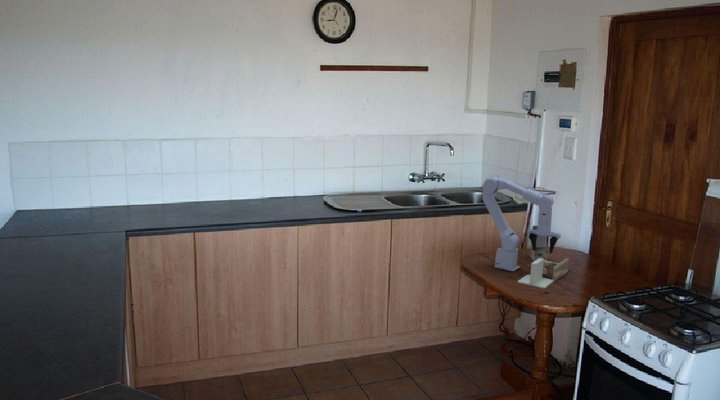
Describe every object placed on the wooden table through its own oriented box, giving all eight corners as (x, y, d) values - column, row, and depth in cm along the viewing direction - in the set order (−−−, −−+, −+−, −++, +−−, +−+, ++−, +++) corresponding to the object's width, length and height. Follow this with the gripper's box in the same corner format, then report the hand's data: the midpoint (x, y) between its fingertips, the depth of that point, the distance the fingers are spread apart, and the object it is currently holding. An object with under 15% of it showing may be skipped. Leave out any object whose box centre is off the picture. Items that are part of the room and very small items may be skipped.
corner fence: (523, 274, 274) (525, 261, 273) (538, 264, 289) (539, 252, 288) (555, 281, 266) (557, 268, 265) (568, 270, 281) (570, 258, 280)
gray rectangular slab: (529, 283, 260) (531, 263, 258) (537, 277, 268) (539, 257, 266) (534, 284, 259) (536, 264, 257) (542, 278, 267) (543, 258, 265)
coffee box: (547, 262, 293) (550, 230, 289) (533, 261, 293) (536, 229, 290) (542, 256, 302) (545, 225, 298) (529, 256, 302) (532, 225, 299)
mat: (517, 282, 262) (517, 281, 262) (527, 275, 272) (527, 274, 272) (544, 288, 256) (544, 287, 256) (553, 281, 265) (553, 280, 265)
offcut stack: (536, 274, 275) (536, 269, 275) (531, 269, 283) (531, 264, 283) (546, 274, 275) (547, 269, 275) (541, 269, 283) (541, 264, 283)
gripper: (525, 221, 272) (523, 250, 275) (557, 226, 264) (555, 256, 266) (531, 218, 278) (529, 247, 280) (562, 223, 269) (560, 252, 272)
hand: (542, 251), depth 274 cm, fingers open, 7 cm apart
